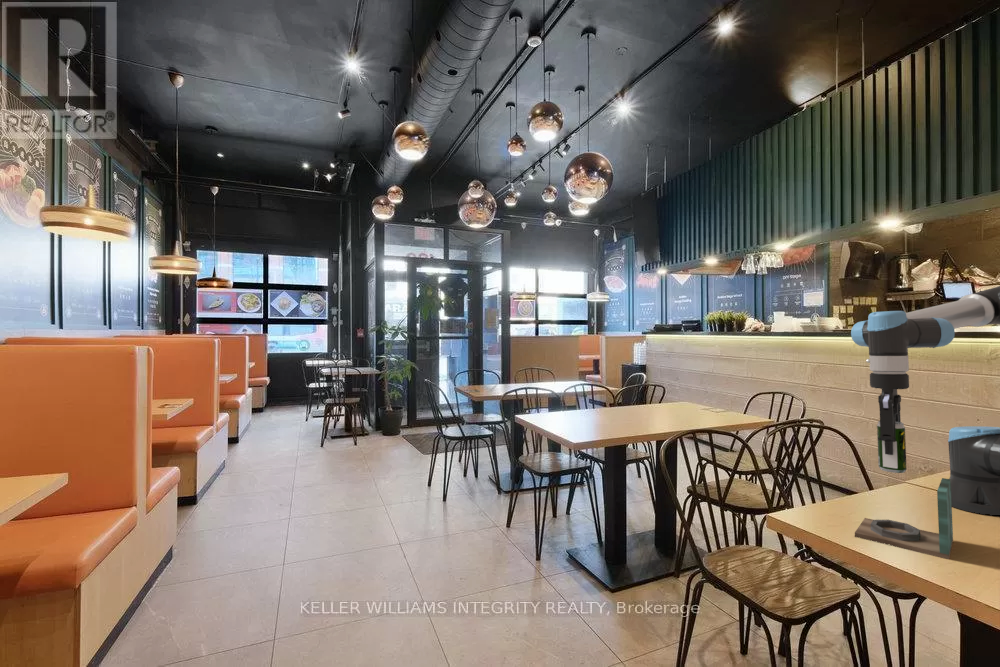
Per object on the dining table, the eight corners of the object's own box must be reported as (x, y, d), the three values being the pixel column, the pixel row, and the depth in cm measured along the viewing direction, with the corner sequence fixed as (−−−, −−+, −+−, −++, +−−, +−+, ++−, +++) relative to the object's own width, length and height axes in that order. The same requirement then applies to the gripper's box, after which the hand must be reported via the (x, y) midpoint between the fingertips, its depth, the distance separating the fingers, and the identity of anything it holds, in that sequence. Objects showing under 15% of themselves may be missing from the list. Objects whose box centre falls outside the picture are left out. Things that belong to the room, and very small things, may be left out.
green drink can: (881, 471, 113) (879, 423, 114) (876, 466, 118) (874, 419, 118) (909, 474, 111) (907, 425, 111) (903, 468, 115) (901, 421, 116)
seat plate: (865, 521, 124) (862, 466, 124) (953, 540, 111) (950, 479, 111) (854, 536, 115) (852, 477, 115) (949, 559, 102) (946, 492, 103)
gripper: (876, 369, 124) (879, 455, 123) (862, 374, 111) (866, 469, 111) (913, 370, 118) (916, 460, 118) (903, 375, 106) (907, 475, 105)
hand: (892, 464), depth 114 cm, fingers closed on green drink can, 5 cm apart
